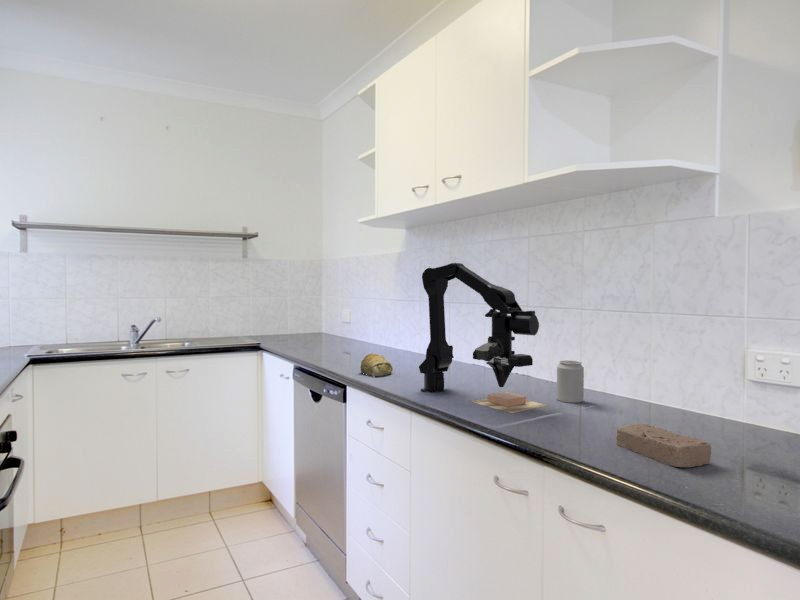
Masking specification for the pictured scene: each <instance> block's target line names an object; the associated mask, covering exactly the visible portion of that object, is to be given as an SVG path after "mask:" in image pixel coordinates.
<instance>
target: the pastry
mask: <svg viewBox="0 0 800 600" xmlns="http://www.w3.org/2000/svg"><path fill="white" fill-rule="evenodd" d="M392 371H393V366H392V363H391V362H390V361H388V360H387V359H386V358H385V357H384V355H380V354H377V353H369V354H367V355H366V356H365V357H364V358H363V359H362V360H361V363H360V372H361V374H362V373H364V374H367V375H372V376H378V377H382V376H386V375H387V376H388V375H392ZM364 374H363V375H364ZM367 375H366V376H367ZM372 376H371V377H372Z"/></svg>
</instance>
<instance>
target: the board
mask: <svg viewBox="0 0 800 600" xmlns="http://www.w3.org/2000/svg"><path fill="white" fill-rule="evenodd" d="M470 403H474V404H477V405H480V406H484V407H487V408H491V409H495V410H499V411H501V412H505V413H510V414H514V413H519V412H523V411H529V410H535V409H540V408H544V407H549V406H550V405H548V404H544V403H541V402H540V403H539V402H538V401H537V402H536V401H532V400H529V399H526V404H522V405H517V406H511V407H506V406H503V405H499V404H495V403H492V402H489V401H488V397H487V398H482V399H477V400H472V401H470Z"/></svg>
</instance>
